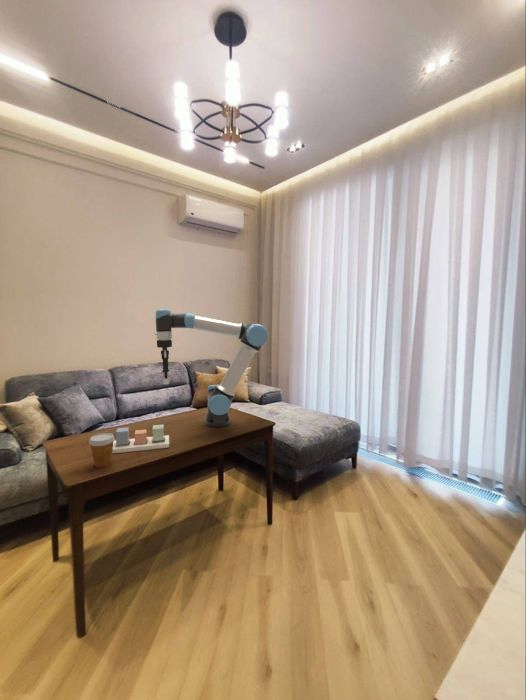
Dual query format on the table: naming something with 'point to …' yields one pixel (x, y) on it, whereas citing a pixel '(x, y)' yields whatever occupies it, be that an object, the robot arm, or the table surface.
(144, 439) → the terracotta block
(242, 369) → the robot arm
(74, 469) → the table surface
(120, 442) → the slate block
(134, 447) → the board
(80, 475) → the table surface
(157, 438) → the sage block
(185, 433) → the table surface
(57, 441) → the table surface
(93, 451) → the disposable coffee cup
